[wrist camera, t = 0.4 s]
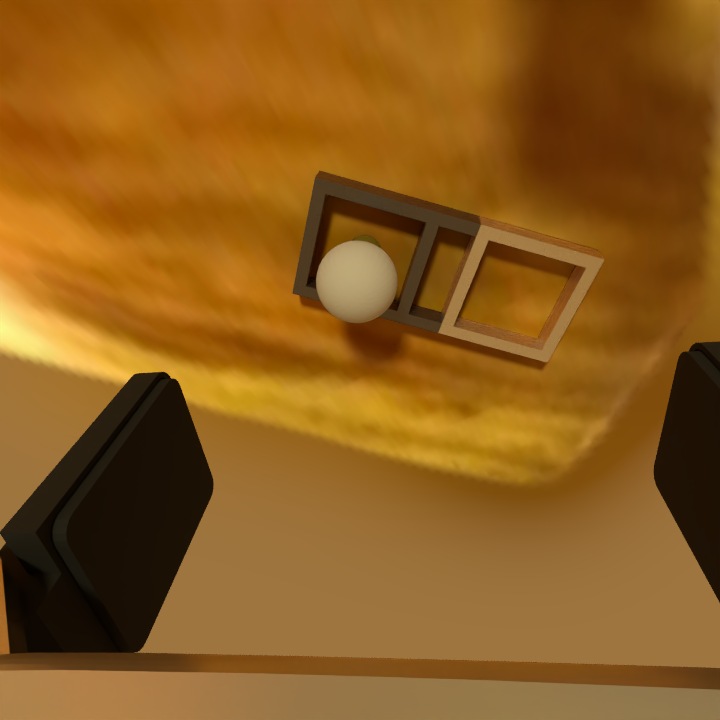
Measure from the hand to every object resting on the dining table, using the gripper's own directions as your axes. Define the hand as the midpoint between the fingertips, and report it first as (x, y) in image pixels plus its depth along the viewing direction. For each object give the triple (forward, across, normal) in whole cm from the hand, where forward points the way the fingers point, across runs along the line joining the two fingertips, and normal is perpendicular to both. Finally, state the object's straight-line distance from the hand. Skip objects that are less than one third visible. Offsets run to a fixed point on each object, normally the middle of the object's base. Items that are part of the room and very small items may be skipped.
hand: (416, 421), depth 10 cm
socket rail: (+34, -1, +10) cm, 35 cm away
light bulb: (+34, +5, +8) cm, 35 cm away
